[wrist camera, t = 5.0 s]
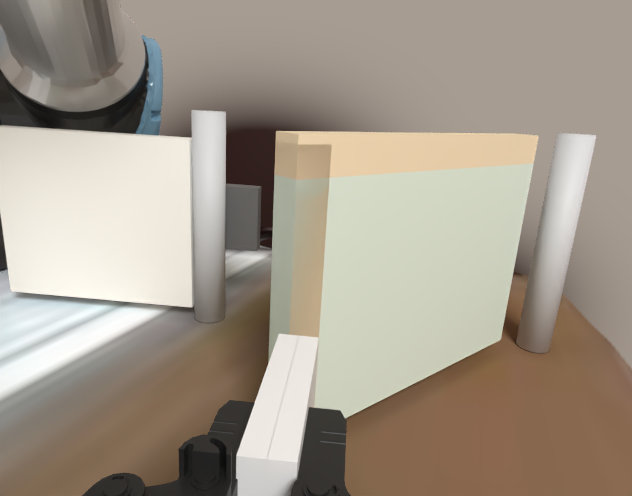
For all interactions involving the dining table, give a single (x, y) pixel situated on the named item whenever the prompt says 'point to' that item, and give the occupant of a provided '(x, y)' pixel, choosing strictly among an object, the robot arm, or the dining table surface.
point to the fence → (195, 218)
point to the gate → (394, 252)
